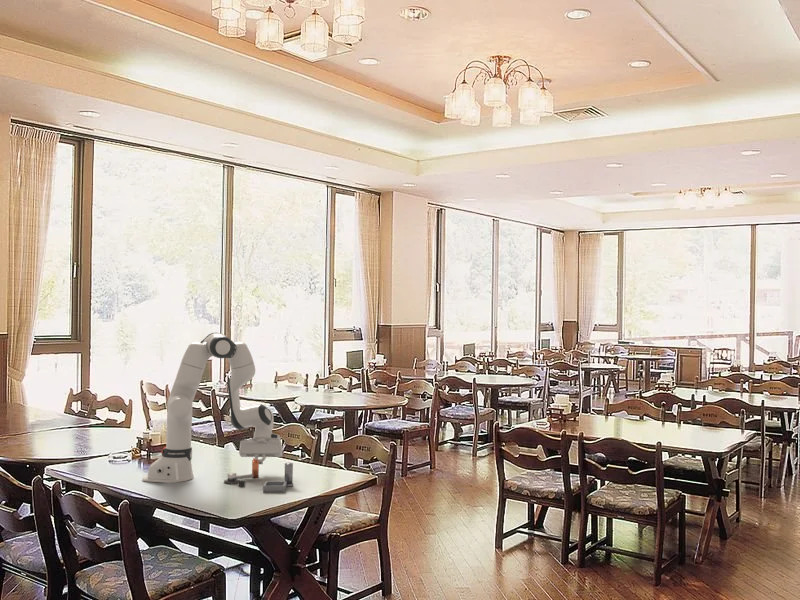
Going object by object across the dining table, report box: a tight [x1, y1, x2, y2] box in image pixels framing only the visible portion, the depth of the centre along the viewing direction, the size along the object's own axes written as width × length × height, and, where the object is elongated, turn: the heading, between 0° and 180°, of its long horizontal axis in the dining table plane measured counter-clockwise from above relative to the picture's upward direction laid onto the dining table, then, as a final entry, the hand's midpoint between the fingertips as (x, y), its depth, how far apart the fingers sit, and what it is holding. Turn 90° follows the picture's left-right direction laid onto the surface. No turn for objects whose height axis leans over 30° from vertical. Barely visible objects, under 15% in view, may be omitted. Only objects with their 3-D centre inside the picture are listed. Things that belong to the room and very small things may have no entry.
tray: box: [262, 480, 288, 494], centre depth 332 cm, size 9×9×3 cm
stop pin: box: [283, 462, 294, 488], centre depth 341 cm, size 4×4×10 cm
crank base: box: [223, 479, 241, 485], centre depth 345 cm, size 7×7×1 cm
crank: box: [226, 457, 260, 481], centre depth 348 cm, size 14×4×9 cm, turn 121°
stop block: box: [238, 479, 246, 488], centre depth 338 cm, size 2×2×2 cm
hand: (259, 463), depth 358 cm, fingers closed
